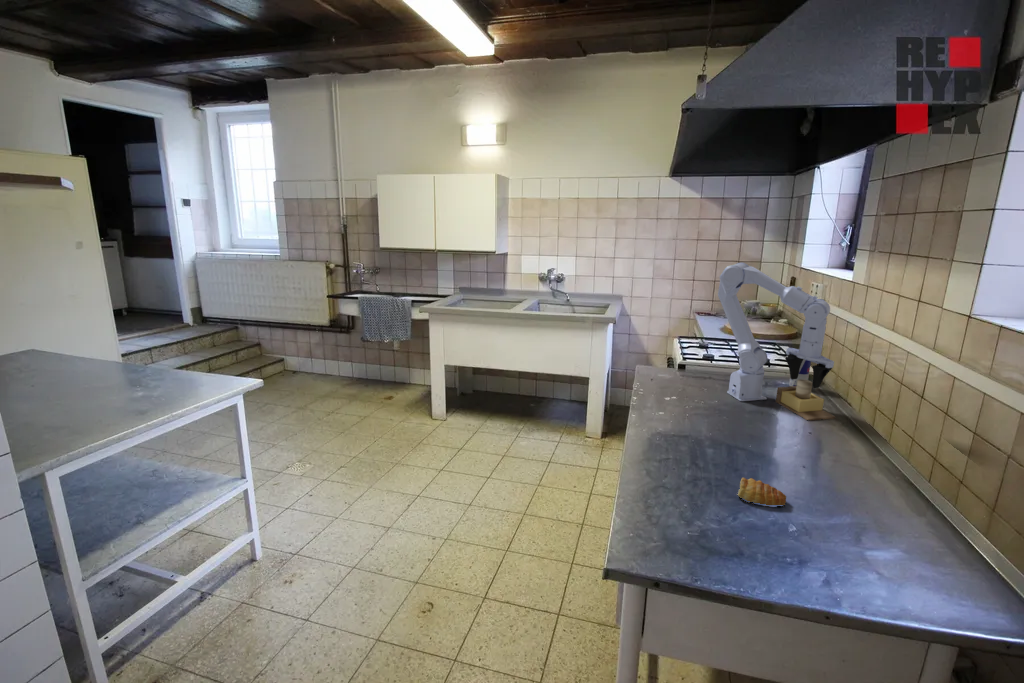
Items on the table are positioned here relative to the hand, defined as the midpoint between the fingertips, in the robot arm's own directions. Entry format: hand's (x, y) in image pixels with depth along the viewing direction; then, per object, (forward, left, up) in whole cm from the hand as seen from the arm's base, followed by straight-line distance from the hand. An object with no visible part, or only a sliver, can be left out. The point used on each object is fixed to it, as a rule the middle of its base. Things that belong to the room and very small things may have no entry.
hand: (804, 383), depth 150 cm
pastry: (-43, -41, -9) cm, 61 cm away
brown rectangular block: (0, -2, -8) cm, 8 cm away
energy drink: (+12, +16, -9) cm, 22 cm away
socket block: (0, 0, -8) cm, 8 cm away
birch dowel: (0, 0, -7) cm, 7 cm away
